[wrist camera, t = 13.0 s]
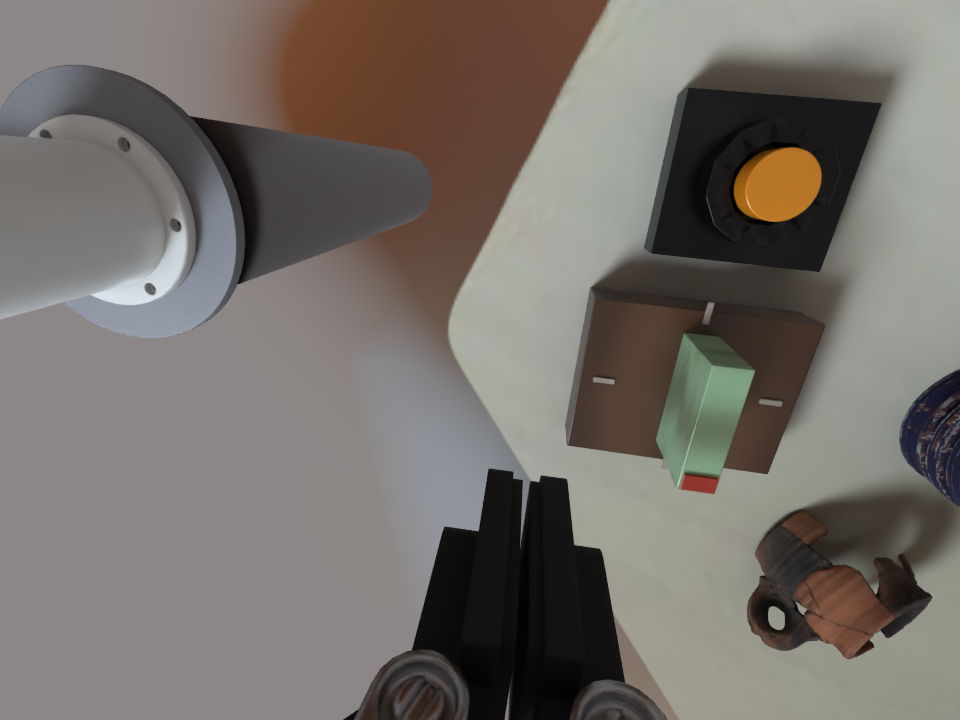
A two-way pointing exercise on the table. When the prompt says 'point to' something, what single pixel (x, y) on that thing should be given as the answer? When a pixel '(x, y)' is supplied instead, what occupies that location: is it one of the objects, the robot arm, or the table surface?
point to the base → (651, 362)
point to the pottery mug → (827, 593)
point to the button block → (723, 152)
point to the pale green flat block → (702, 411)
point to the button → (777, 184)
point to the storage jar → (935, 436)
